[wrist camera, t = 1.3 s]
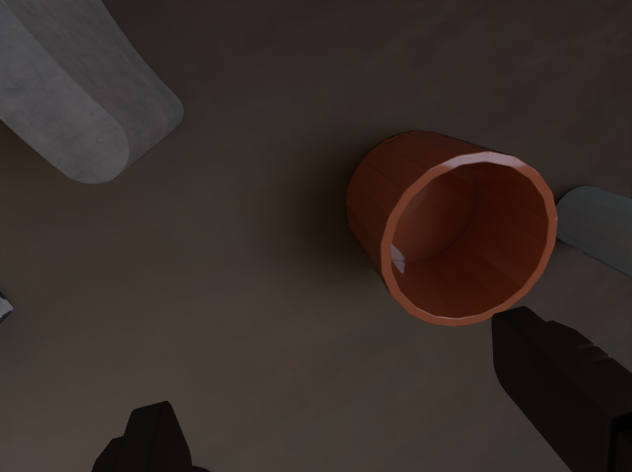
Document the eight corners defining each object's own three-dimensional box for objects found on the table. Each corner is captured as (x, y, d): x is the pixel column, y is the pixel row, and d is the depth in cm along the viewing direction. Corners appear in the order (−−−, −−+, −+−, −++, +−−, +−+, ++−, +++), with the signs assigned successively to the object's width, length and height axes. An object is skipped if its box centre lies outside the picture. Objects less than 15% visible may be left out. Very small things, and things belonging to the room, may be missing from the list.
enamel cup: (603, 238, 44) (697, 282, 35) (548, 247, 44) (629, 294, 35) (611, 181, 42) (714, 212, 33) (554, 190, 42) (642, 223, 32)
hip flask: (192, 117, 34) (130, 171, 16) (149, 145, 35) (39, 229, 16) (44, -99, 28) (-331, -418, 10) (-7, -65, 29) (-467, -313, 10)
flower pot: (476, 253, 43) (548, 310, 33) (350, 274, 41) (385, 339, 31) (480, 121, 38) (566, 140, 28) (339, 140, 37) (376, 166, 27)
